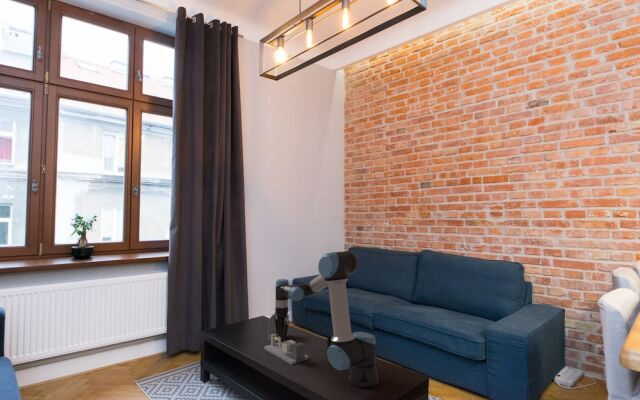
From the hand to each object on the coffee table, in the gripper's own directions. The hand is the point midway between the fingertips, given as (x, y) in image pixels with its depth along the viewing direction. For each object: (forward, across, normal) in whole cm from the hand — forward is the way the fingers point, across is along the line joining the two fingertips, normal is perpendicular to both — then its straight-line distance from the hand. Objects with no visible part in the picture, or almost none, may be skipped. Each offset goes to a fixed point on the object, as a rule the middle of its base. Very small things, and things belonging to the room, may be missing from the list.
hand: (281, 347), depth 206 cm
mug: (+5, -21, -24) cm, 32 cm away
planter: (+5, +27, -14) cm, 31 cm away
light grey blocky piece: (+5, 0, -4) cm, 6 cm away
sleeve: (+1, -4, -2) cm, 5 cm away
